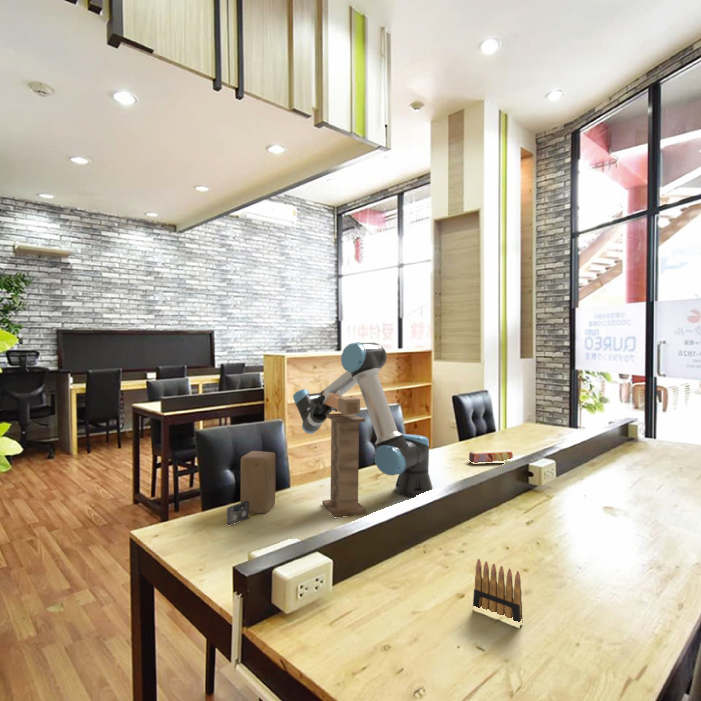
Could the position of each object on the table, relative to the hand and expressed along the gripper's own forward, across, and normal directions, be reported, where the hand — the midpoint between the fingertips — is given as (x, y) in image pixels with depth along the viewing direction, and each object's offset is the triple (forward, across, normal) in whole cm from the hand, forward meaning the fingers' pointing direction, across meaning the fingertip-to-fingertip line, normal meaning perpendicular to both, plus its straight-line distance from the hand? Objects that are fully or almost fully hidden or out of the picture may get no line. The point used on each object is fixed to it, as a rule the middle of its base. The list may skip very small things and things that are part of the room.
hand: (333, 393), depth 178 cm
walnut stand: (-9, 0, -42) cm, 43 cm away
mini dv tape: (-10, +38, -42) cm, 57 cm away
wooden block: (-19, +29, -37) cm, 51 cm away
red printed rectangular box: (-39, -92, -25) cm, 103 cm away
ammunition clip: (+54, -10, -78) cm, 96 cm away
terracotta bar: (+3, 0, -7) cm, 8 cm away
